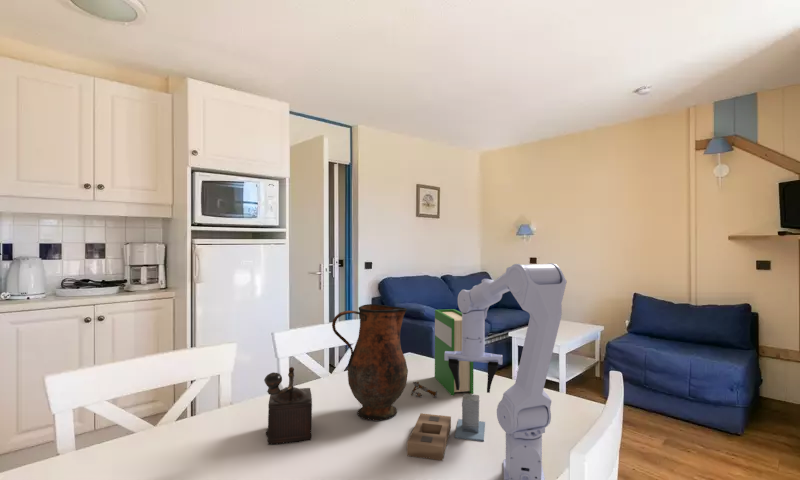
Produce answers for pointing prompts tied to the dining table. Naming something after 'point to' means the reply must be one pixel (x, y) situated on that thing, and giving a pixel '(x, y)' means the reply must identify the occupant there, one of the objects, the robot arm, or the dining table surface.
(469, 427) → the steel peg
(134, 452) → the dining table surface
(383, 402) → the pitcher
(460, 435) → the slate mat
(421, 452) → the brown flat rectangular block
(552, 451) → the dining table surface
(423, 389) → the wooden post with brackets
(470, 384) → the hardback book
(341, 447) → the dining table surface
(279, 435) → the manual coffee grinder
